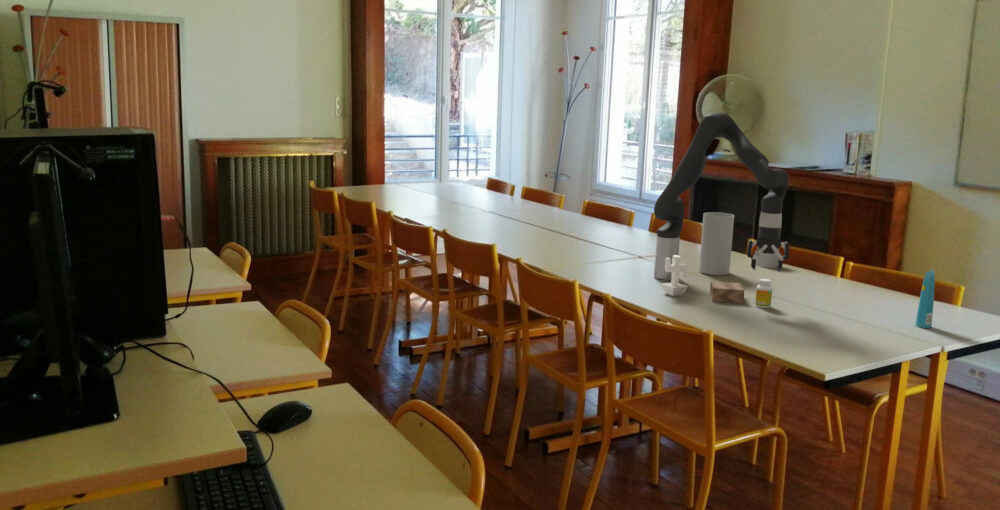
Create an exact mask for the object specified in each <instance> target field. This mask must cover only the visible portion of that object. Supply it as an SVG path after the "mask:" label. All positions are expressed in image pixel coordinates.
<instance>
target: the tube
mask: <svg viewBox="0 0 1000 510" xmlns="http://www.w3.org/2000/svg"><path fill="white" fill-rule="evenodd" d="M935 277H936V275H935V269H932V270H929V271H926V272H925V274H924V278H923V283H922V286H921V291H920V296H919V301H918V307H917V314H916V319H915V326H916V327H918V328H922V329H931V328H932V324H933V314H934V302H935V284H936V281H935V279H936V278H935Z"/></svg>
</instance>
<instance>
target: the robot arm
mask: <svg viewBox="0 0 1000 510" xmlns="http://www.w3.org/2000/svg"><path fill="white" fill-rule="evenodd" d="M718 138H721V139H722V138H724V139H725V140H727V141H728V142H729V143H731V145H733V148H734V149H735V152H736V155H737V157H738V159H739V160H740V162H741V163H742V164H743V165H744V166H745V167H746V168H747V169H748V170H749V171H751V172H752V174H753V176H754V178H755V179H756V181H757V182H758V184H759V185H760V186H761V187H763V188H764V189H767V190H768V193H767V194H766V195H765V196H763V197H762V199H761V205H760V206H761V207H760V214H759V215H760V216H759V219H758V220H759V221H758V234H757V240H756V241H755V240H752V239H749V240H748V241H747V242H748V243H747V248H746V257H747V258H750V259H751V262H750V268H751V269H752V270H755V271H756V268H757V267H756V266H757V265H756V258H757V257H758V256H759V255H760V254H761V253H764V254H766V253H769V254H773V253H775V254H776V255H777V257H778V264H777V267H776V271H778V272H781V270H782V269H783V265H784V264H783V262H784V261H785V260H789V259H790V243H789V242H788V241H785V242H784V241H783V242H781V233H782V222H783V221H782V220H783V216H782V214H783V213H782V211H783V201H784V199H785V197H786V193H787V190H788V187H789V181H790V179H789V175H788V174H789V173H788V172H787V171H786V169H783V168H771V167H770V166H769V163H770V161H769V159H768V158H767V156H766V155H764V154H763V153H762V152H761V151H760V150H759V149H758V148H757V147H756V146H755V145H754V144H752V142H750V140H749V139H748V137H747V136H746V135H745V133H743V131H742V129H740V127H739V126H738V124H737V123H736V122H735V120H734V119H733V118H732V117H731V116H730V115H729V114H728V113H727V112H713V113H708V114H706V115H704V116H703V117H702V119H701V120H700V121H699V124H698V126H697V129H696V131H695V134H694V136H693V138H692V141H691V143H690V145H689V146H688V148H687V150H686V152H685V154H684V155H683V156H682V157H683V158H682V159H681V161H680V162H679V164H678V167H677V168H676V169H675V172H674V173H673V175H672V177H671V179H670V180H669V183H668V184H667V186H665V188H664V189H663V191H662V192H661V194H660V195H659V196H658V198H657V200H656V201H655V203H654V208H653V214H654V217H655V218H656V219H658V220H660V221H666V222H665V223H664V224H663V225H662V226H661V227H659V228H658V229H656V244H655V245H656V246H655V255H654V268H653V276H654V277H653V278H654V279H659V280H667V281H668V280H670V281H671V278H672V272H666V271H665V259H666V258H670V259H671V265H672V259H673V255H678V256H680V255H679V253H680V240H681V239H680V238H681V233H682V230H683V224H684V217H685V203H684V201H683V199H682V198H680V196H681V195H682V194H684V193H685V192H686V191H687V190H689V189H690V188H691V187H693V186H694V185H695V184H696V183H697V182H698V181H699V179H700V177H701V175H702V173H703V172H704V170H705V168H706V162H707V161H706V153H707V150H708V148H709V147H710V145H711V143H712V142H713V141H714V139H718ZM755 245H756V246H757V247H758V249H757V248H756V250H755V251H754V252H753V254H752V250H753V248H754V247H755ZM781 247H782V249H784V251H783V255H782V253H780V250H779V251H778V248H779V249H780V248H781Z"/></svg>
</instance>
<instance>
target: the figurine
mask: <svg viewBox="0 0 1000 510" xmlns="http://www.w3.org/2000/svg"><path fill="white" fill-rule="evenodd" d="M681 258H682V257H681V255H679V256H678V255H673V259H672V265H671V259H670V258H666V259H665V271H666V272H672V278H671V280H670V281H671V282H664V283H663V282H662V283H661V286H662V288H663V291H664V293H665V294H667V295H668V296H672V297H679V296H683V295H684V293H685V292H686V290H687V289H688V288H689V286H688V285H685V284H683V283H680V277H681V278H683V279H686V278H687V271H688V268H687V267H688V266H687V264H686V263H681Z"/></svg>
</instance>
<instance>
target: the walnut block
mask: <svg viewBox="0 0 1000 510" xmlns="http://www.w3.org/2000/svg"><path fill="white" fill-rule="evenodd" d="M709 285H710V286H709V295H710V299H711V301H712V302H715V303H733V304H744V301H745V300H744V299H745V288H744V287H743V285H742V283H740V282H727V281H725V282H724V281H710V284H709Z"/></svg>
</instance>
